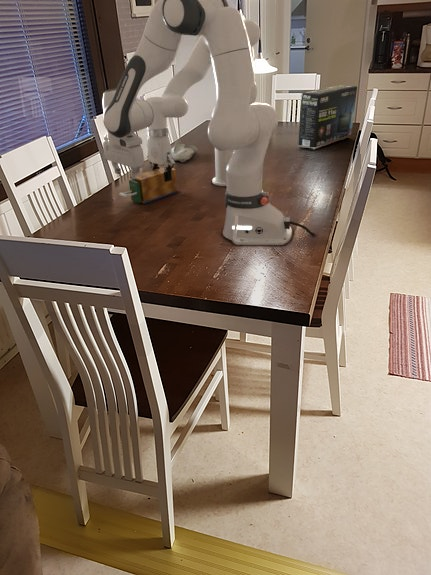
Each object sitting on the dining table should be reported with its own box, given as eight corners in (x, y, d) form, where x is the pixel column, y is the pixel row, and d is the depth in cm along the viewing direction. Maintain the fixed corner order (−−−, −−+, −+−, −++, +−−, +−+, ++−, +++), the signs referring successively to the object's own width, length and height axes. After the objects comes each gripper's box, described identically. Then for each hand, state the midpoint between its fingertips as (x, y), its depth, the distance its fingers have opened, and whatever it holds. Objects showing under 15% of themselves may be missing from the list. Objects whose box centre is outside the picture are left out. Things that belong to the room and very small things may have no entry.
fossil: (184, 156, 217) (163, 136, 220) (174, 174, 223) (154, 154, 227) (205, 153, 231) (186, 134, 234) (195, 171, 237) (176, 152, 240)
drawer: (127, 207, 171) (124, 186, 167) (119, 203, 175) (116, 184, 170) (171, 191, 184) (169, 172, 180) (163, 189, 187) (161, 170, 183)
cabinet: (144, 204, 176) (141, 179, 171) (134, 200, 180) (131, 176, 175) (177, 192, 186) (175, 169, 181) (167, 188, 190) (165, 166, 185)
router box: (314, 151, 231) (318, 94, 217) (296, 148, 237) (299, 92, 224) (352, 138, 251) (358, 85, 238) (335, 135, 258) (340, 83, 245)
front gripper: (96, 135, 166) (102, 172, 174) (130, 143, 154) (135, 183, 161) (110, 131, 170) (116, 168, 177) (145, 139, 158) (149, 179, 165)
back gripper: (136, 131, 176) (141, 177, 185) (165, 137, 165) (169, 186, 175) (151, 127, 180) (156, 172, 190) (180, 133, 170) (184, 181, 179)
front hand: (125, 175), depth 169 cm, fingers open, 8 cm apart
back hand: (162, 178), depth 182 cm, fingers closed on cabinet, 6 cm apart
